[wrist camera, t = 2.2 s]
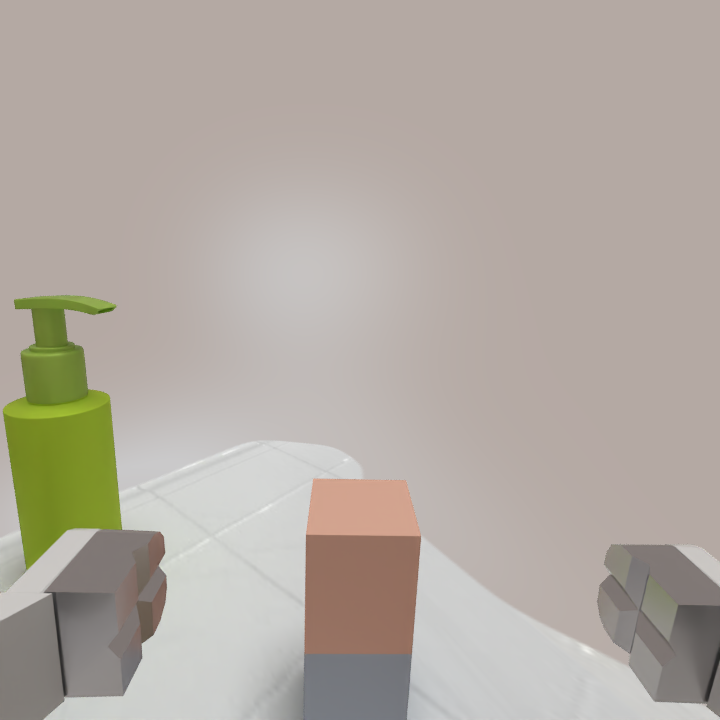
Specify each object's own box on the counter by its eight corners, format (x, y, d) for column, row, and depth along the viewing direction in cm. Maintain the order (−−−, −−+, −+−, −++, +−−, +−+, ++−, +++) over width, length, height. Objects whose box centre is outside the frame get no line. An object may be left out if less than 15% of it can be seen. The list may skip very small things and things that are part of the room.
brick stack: (393, 668, 27) (405, 480, 24) (403, 757, 22) (421, 536, 19) (310, 668, 27) (313, 478, 24) (303, 758, 22) (305, 534, 19)
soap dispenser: (107, 610, 30) (75, 304, 26) (7, 600, 31) (-42, 298, 26) (153, 553, 36) (134, 294, 31) (68, 545, 36) (37, 289, 32)
